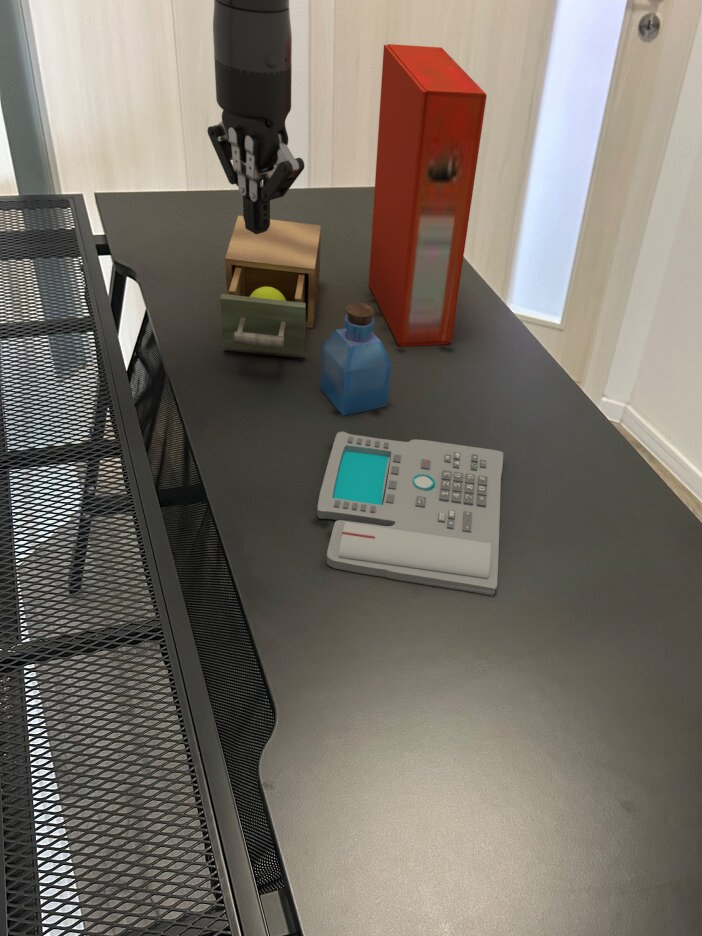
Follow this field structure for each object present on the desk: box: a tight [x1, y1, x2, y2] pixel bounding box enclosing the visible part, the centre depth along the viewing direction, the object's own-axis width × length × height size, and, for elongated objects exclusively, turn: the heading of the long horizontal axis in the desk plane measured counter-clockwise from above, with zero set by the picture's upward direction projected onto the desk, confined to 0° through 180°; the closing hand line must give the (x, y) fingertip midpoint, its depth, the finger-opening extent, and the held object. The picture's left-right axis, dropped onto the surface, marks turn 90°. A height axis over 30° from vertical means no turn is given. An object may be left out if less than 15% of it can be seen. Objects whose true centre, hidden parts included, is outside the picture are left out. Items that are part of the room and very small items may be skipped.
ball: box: [250, 287, 286, 301], centre depth 112 cm, size 5×5×5 cm
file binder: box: [368, 43, 488, 347], centre depth 113 cm, size 8×17×32 cm, turn 18°
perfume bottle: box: [320, 302, 392, 417], centre depth 104 cm, size 6×6×12 cm
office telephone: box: [316, 431, 504, 596], centre depth 94 cm, size 23×3×20 cm
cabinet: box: [224, 215, 322, 329], centre depth 119 cm, size 14×12×9 cm
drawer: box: [219, 265, 306, 357], centre depth 111 cm, size 18×10×7 cm, turn 3°
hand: (256, 230), depth 97 cm, fingers closed
